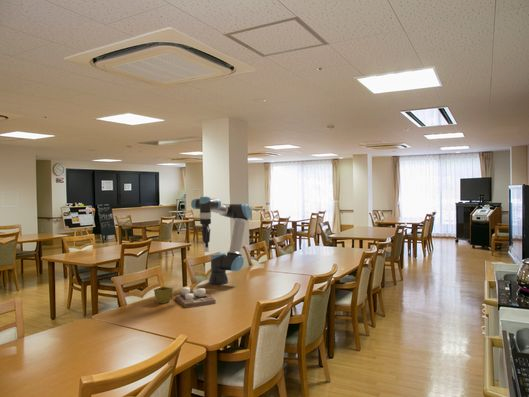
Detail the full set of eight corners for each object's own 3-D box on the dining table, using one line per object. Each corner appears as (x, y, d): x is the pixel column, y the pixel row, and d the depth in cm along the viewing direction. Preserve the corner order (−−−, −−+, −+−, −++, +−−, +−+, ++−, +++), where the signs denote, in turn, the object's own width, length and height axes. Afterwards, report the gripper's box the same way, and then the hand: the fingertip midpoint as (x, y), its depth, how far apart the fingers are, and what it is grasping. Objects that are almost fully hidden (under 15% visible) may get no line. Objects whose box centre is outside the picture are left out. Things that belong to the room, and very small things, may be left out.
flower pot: (153, 303, 254) (153, 289, 254) (163, 299, 262) (162, 286, 262) (164, 304, 250) (163, 290, 250) (173, 301, 258) (173, 287, 258)
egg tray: (175, 298, 265) (175, 294, 265) (203, 295, 274) (203, 291, 274) (185, 307, 243) (185, 303, 243) (215, 303, 253) (215, 299, 253)
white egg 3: (195, 295, 261) (195, 288, 261) (203, 294, 263) (203, 287, 263) (198, 297, 256) (198, 290, 256) (206, 296, 258) (206, 289, 258)
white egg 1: (180, 293, 264) (180, 287, 264) (188, 292, 267) (188, 286, 267) (183, 295, 259) (182, 289, 259) (191, 294, 262) (191, 288, 262)
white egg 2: (192, 296, 268) (192, 290, 268) (200, 295, 270) (200, 289, 270) (194, 298, 263) (194, 291, 263) (202, 296, 266) (202, 290, 265)
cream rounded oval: (184, 300, 257) (183, 294, 257) (192, 299, 260) (192, 292, 260) (186, 302, 252) (186, 295, 252) (194, 301, 255) (194, 294, 255)
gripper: (197, 218, 280) (198, 251, 281) (203, 219, 268) (204, 253, 269) (207, 217, 283) (208, 250, 284) (213, 218, 272) (214, 252, 273)
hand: (206, 251), depth 277 cm, fingers closed
